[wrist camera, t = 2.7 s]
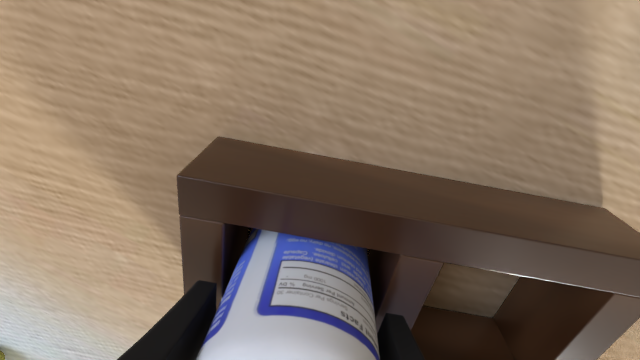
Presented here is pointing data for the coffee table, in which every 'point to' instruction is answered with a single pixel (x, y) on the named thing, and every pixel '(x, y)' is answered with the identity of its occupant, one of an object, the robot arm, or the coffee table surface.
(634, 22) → the coffee table surface
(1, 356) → the decorative mushroom
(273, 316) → the pill bottle
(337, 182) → the rack
